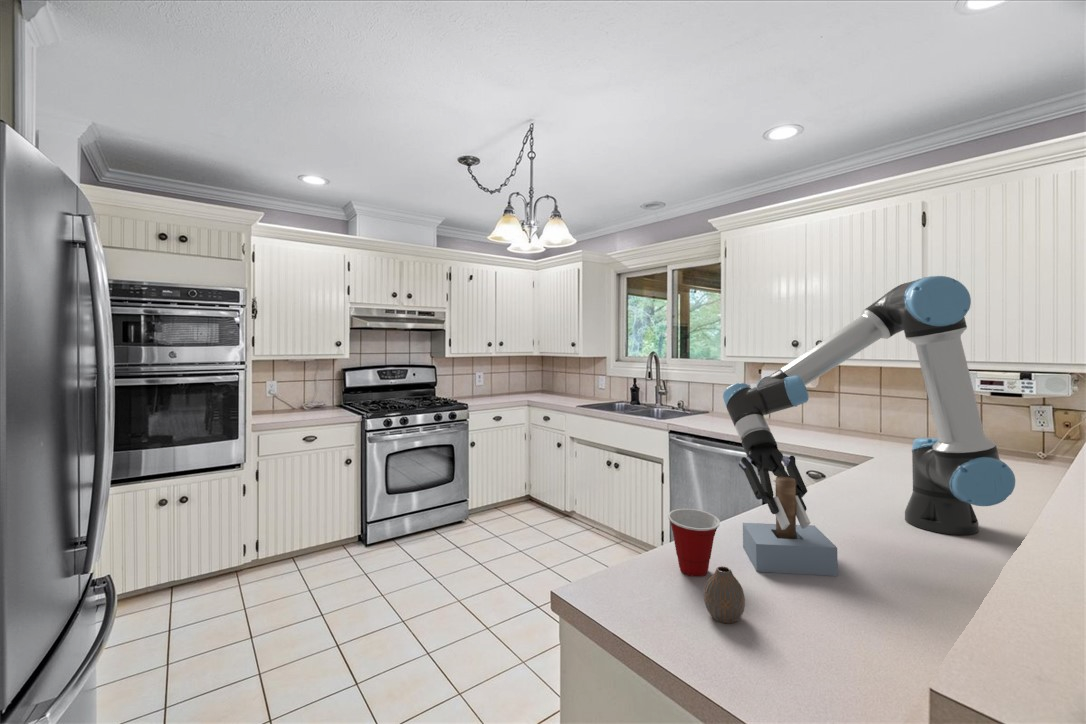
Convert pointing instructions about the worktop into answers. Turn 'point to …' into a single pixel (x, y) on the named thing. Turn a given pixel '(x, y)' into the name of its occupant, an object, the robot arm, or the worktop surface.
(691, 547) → the plastic cup
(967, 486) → the robot arm
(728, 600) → the vase
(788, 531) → the walnut peg
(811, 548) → the bore block
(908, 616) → the worktop surface
